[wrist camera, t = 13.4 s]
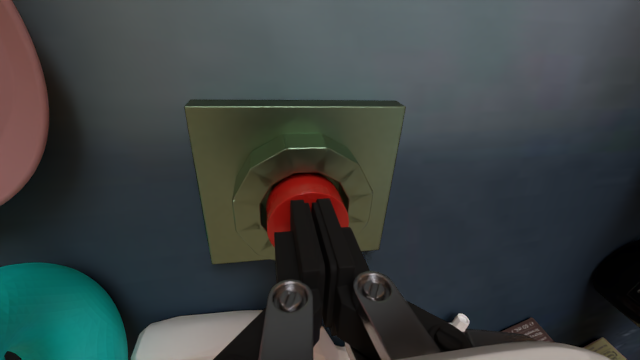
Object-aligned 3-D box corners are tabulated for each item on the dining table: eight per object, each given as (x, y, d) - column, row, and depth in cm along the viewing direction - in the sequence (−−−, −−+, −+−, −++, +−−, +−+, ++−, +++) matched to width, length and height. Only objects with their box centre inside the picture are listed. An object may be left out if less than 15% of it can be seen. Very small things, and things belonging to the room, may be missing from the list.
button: (267, 237, 15) (268, 262, 13) (264, 174, 13) (265, 194, 11) (337, 232, 15) (345, 255, 14) (343, 171, 14) (353, 190, 12)
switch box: (214, 250, 18) (206, 290, 15) (189, 99, 13) (172, 118, 11) (372, 237, 19) (390, 271, 17) (396, 100, 15) (424, 117, 12)
